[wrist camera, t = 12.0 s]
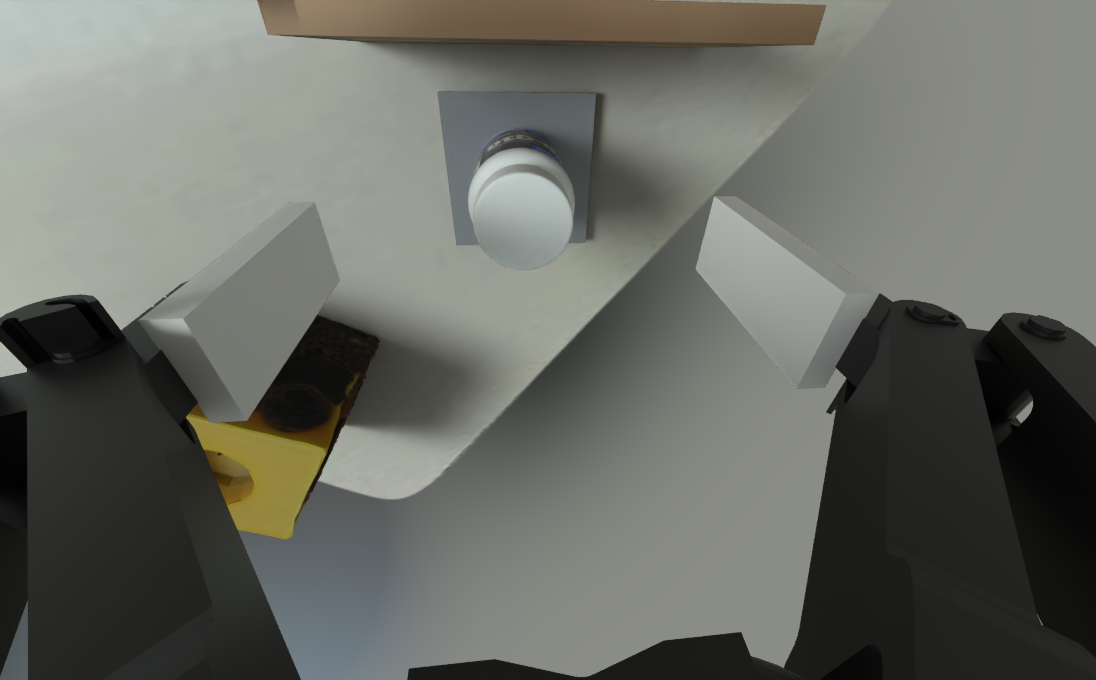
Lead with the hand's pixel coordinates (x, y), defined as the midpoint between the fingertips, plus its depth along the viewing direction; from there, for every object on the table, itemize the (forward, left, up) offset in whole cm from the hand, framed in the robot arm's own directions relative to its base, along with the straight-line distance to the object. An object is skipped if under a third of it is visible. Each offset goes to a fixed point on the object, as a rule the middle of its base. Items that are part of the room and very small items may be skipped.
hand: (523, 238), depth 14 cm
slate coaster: (0, 0, -11) cm, 11 cm away
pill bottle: (0, 0, -11) cm, 11 cm away
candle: (+13, -17, -12) cm, 24 cm away
